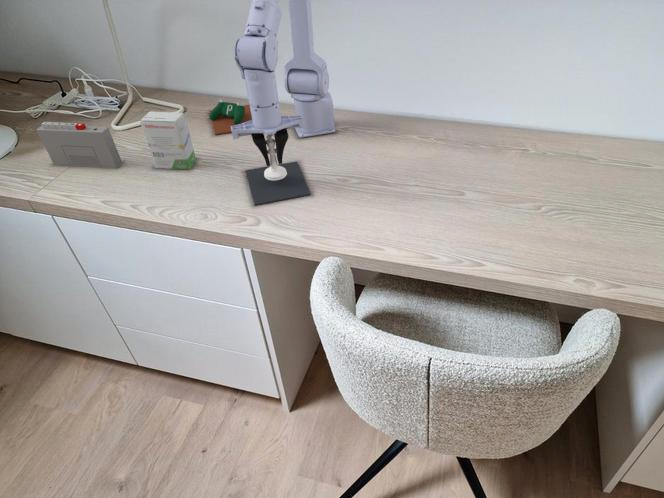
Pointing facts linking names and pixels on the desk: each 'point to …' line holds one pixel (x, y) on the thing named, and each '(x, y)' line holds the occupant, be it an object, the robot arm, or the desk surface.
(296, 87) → the robot arm
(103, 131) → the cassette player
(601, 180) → the desk surface
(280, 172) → the chess piece
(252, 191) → the slate mat
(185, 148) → the ink box
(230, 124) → the cork mat
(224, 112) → the gaming controller
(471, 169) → the desk surface
